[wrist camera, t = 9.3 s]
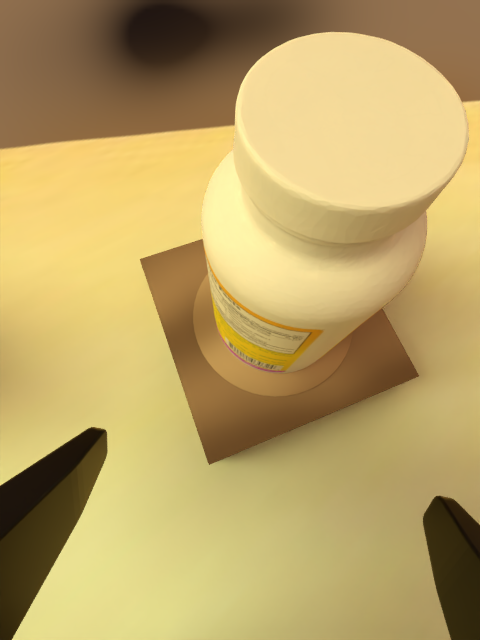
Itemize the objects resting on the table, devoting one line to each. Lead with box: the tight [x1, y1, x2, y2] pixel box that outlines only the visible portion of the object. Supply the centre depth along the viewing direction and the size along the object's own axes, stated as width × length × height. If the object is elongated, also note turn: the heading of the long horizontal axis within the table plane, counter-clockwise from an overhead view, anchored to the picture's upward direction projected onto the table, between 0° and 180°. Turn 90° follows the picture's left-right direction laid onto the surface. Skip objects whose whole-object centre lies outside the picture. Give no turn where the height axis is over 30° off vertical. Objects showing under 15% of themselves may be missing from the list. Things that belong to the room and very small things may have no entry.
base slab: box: [140, 239, 419, 465], centre depth 20 cm, size 12×12×3 cm
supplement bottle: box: [201, 32, 469, 374], centre depth 13 cm, size 7×7×13 cm
